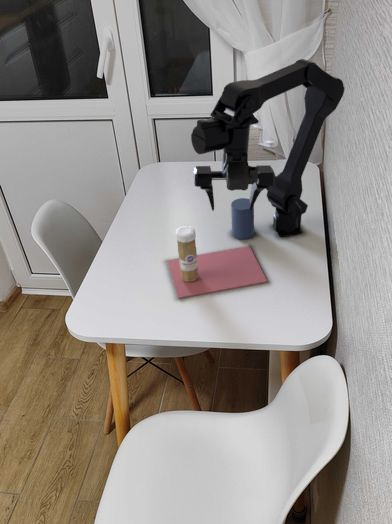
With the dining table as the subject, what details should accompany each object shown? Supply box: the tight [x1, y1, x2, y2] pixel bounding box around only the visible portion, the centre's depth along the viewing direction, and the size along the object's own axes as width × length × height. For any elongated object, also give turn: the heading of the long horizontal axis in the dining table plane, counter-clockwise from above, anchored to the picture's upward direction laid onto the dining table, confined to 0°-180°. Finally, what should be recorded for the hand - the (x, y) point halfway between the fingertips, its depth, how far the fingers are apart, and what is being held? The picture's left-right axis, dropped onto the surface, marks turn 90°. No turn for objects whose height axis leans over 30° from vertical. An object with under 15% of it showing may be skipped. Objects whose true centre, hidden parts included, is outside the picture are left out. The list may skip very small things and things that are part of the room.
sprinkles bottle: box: [175, 225, 199, 282], centre depth 129 cm, size 5×5×14 cm
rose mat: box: [167, 245, 268, 300], centre depth 135 cm, size 22×16×1 cm
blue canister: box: [230, 197, 255, 240], centre depth 143 cm, size 6×6×9 cm
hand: (231, 209), depth 131 cm, fingers open, 9 cm apart
